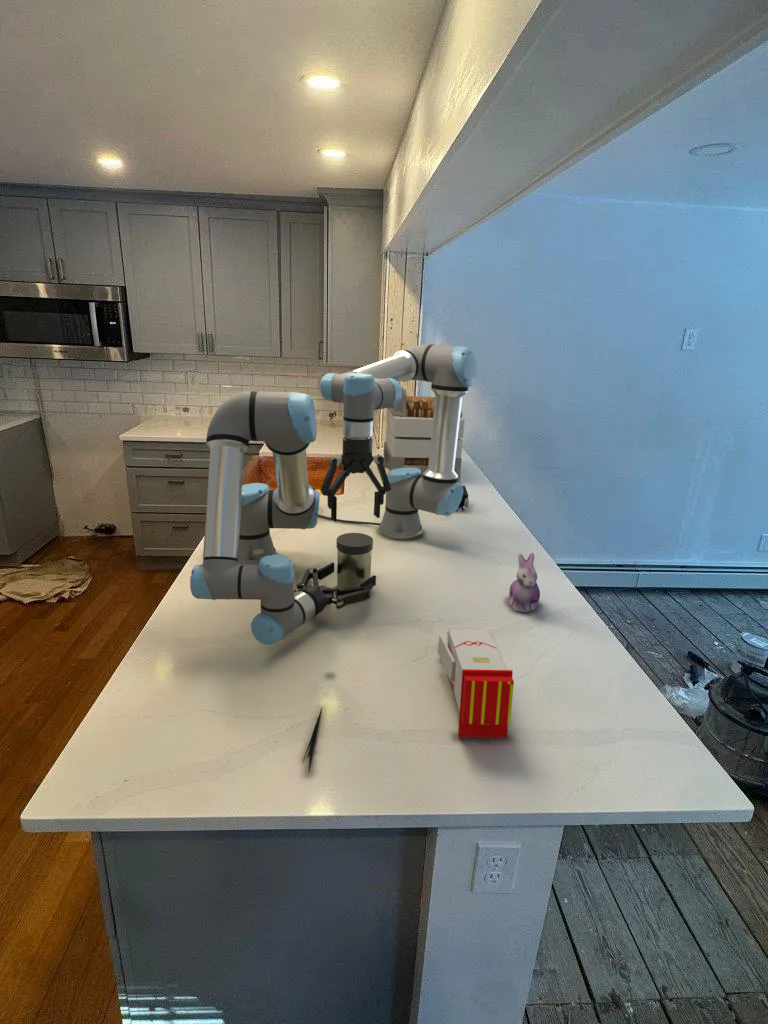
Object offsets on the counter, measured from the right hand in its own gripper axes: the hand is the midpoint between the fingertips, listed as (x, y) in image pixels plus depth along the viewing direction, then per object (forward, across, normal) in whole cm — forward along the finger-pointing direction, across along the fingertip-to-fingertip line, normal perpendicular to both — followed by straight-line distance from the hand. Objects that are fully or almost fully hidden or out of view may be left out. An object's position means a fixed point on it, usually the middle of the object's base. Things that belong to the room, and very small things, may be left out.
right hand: (355, 517), depth 150 cm
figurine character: (+22, -62, -58) cm, 88 cm away
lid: (+6, 0, 0) cm, 6 cm away
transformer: (+22, -67, -108) cm, 129 cm away
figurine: (+22, -43, +20) cm, 52 cm away
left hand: (+16, 0, +1) cm, 16 cm away
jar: (+22, 0, 0) cm, 22 cm away
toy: (+22, -11, +48) cm, 54 cm away
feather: (+22, +21, +48) cm, 57 cm away
